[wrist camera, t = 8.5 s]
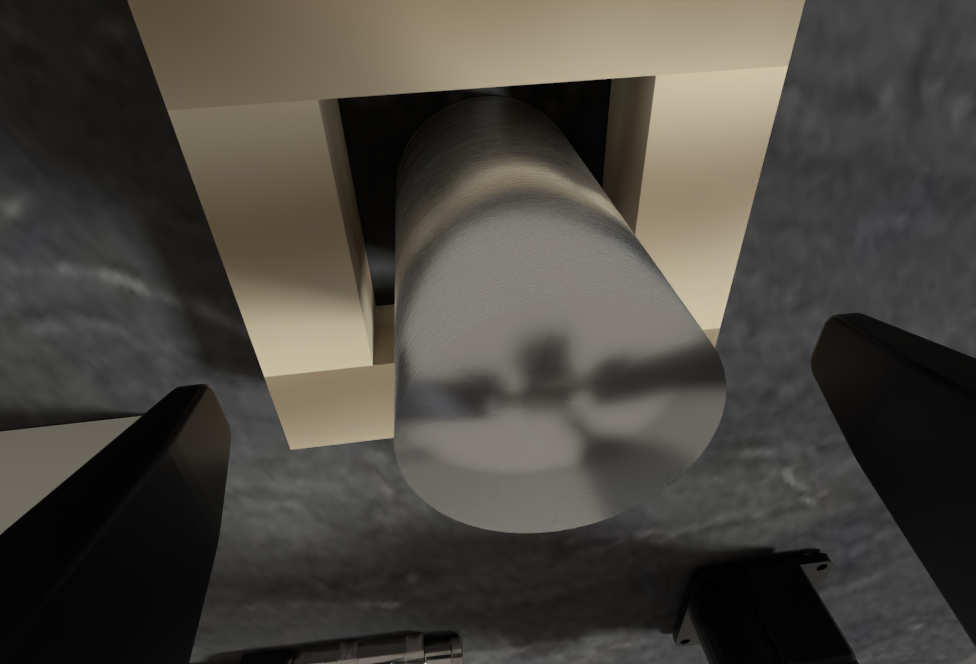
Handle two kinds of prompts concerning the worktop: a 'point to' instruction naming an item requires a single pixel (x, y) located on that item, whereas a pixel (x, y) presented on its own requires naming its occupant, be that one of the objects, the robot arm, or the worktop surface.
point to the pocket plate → (439, 67)
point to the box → (47, 460)
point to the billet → (534, 333)
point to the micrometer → (369, 652)
